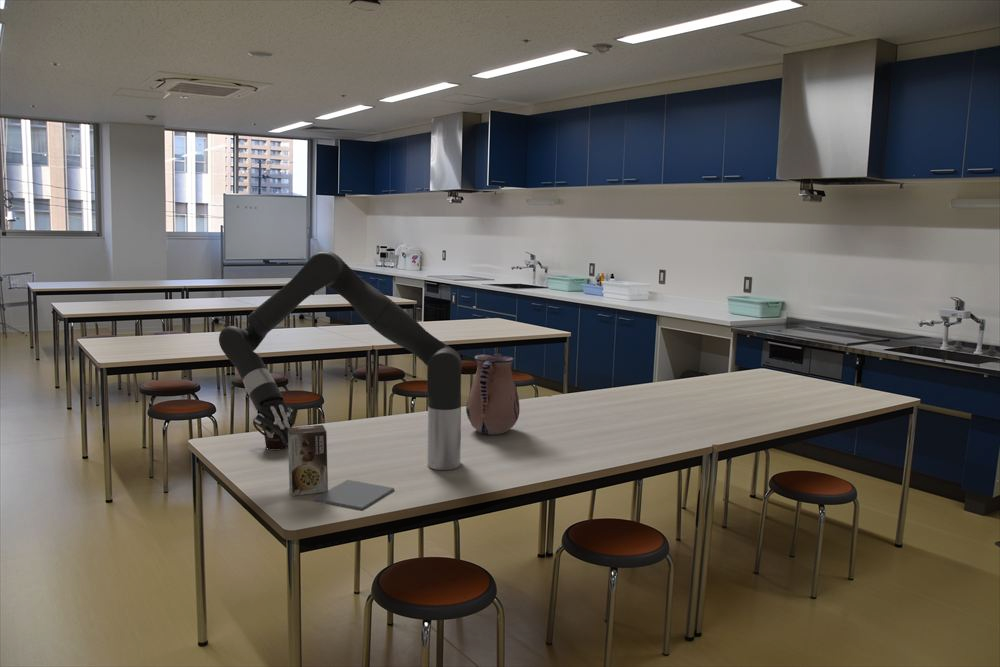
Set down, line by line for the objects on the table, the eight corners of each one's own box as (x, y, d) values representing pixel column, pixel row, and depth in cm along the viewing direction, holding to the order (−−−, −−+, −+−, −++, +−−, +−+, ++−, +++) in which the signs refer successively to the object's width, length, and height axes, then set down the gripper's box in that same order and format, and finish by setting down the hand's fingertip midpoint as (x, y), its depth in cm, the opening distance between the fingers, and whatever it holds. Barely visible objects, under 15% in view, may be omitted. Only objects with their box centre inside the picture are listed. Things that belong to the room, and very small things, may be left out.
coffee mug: (297, 447, 234) (297, 414, 233) (272, 453, 228) (271, 419, 226) (276, 439, 242) (275, 407, 240) (251, 444, 236) (250, 412, 234)
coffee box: (324, 484, 203) (323, 424, 200) (328, 492, 197) (327, 430, 194) (288, 488, 200) (287, 426, 197) (291, 496, 194) (290, 433, 191)
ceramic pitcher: (520, 425, 264) (522, 352, 260) (515, 443, 243) (517, 364, 239) (469, 423, 266) (470, 350, 262) (460, 440, 245) (461, 362, 241)
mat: (347, 482, 205) (347, 479, 205) (394, 490, 200) (394, 487, 200) (313, 500, 191) (313, 498, 191) (362, 509, 186) (362, 507, 186)
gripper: (245, 385, 200) (273, 440, 194) (289, 377, 210) (317, 430, 204) (234, 401, 205) (262, 456, 199) (278, 393, 215) (305, 445, 209)
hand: (290, 443), depth 202 cm, fingers closed
